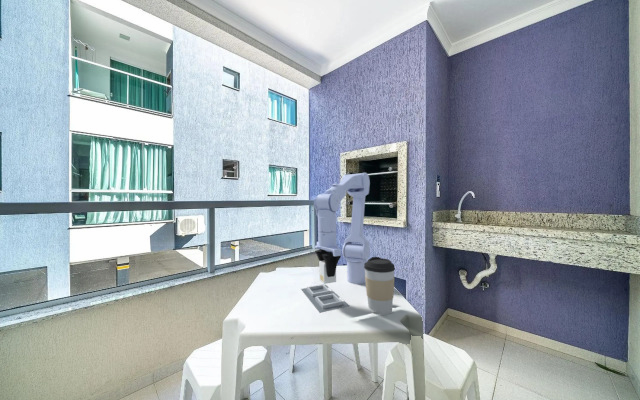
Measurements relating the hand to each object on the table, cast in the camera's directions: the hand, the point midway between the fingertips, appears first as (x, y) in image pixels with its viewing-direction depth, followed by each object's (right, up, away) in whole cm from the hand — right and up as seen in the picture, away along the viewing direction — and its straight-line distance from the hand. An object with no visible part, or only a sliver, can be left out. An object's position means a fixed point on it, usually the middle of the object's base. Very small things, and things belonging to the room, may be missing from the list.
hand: (327, 274), depth 70 cm
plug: (0, -2, 0) cm, 2 cm away
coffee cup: (+16, -10, -4) cm, 19 cm away
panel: (-1, -10, +4) cm, 11 cm away
